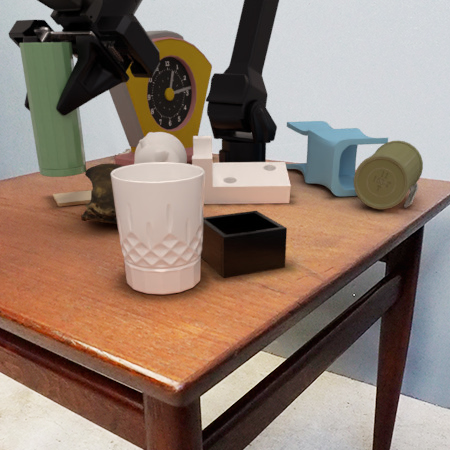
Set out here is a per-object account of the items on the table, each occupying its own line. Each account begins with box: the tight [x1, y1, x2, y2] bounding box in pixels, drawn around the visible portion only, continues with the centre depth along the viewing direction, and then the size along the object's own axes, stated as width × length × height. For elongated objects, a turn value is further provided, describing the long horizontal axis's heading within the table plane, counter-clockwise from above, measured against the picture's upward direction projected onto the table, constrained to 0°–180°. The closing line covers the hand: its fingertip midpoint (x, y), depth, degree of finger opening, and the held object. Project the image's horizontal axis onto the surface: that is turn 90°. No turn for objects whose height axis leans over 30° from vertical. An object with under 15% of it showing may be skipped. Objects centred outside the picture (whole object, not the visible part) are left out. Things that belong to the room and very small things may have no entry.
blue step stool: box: [285, 120, 389, 197], centre depth 84 cm, size 8×8×20 cm
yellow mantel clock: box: [108, 30, 213, 166], centre depth 95 cm, size 22×9×22 cm, turn 141°
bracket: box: [191, 135, 292, 205], centre depth 74 cm, size 13×7×8 cm, turn 91°
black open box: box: [201, 210, 288, 278], centre depth 53 cm, size 6×6×4 cm
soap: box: [114, 148, 131, 157], centre depth 107 cm, size 10×4×1 cm, turn 171°
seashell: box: [80, 163, 123, 225], centre depth 67 cm, size 16×9×7 cm, turn 3°
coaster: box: [52, 189, 92, 208], centre depth 76 cm, size 6×6×1 cm
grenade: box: [354, 140, 424, 210], centre depth 74 cm, size 8×7×15 cm
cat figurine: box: [134, 132, 188, 164], centre depth 80 cm, size 9×11×12 cm
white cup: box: [111, 162, 205, 295], centre depth 48 cm, size 8×8×10 cm
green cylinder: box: [19, 42, 87, 178], centre depth 57 cm, size 5×5×13 cm
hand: (43, 110), depth 56 cm, fingers closed on green cylinder, 5 cm apart
